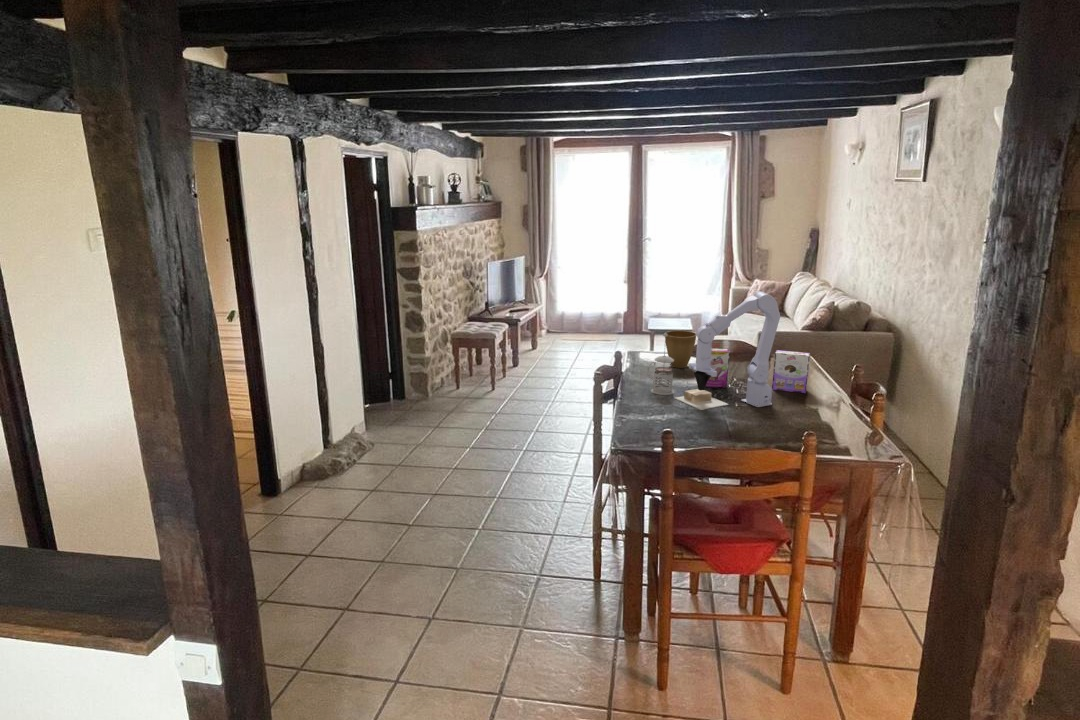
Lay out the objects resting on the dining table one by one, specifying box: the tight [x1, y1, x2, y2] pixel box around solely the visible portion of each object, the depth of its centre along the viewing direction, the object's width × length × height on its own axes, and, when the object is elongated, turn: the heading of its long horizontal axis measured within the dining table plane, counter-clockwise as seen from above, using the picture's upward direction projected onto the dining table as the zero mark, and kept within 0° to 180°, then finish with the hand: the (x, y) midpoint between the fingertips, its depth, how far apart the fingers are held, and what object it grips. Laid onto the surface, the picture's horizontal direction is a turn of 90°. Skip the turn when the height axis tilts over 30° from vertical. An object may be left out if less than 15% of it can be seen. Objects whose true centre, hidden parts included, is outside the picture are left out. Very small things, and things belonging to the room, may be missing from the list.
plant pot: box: [664, 330, 697, 369], centre depth 321 cm, size 15×15×16 cm
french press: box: [646, 332, 675, 396], centre depth 280 cm, size 10×12×25 cm
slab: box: [683, 388, 712, 403], centre depth 271 cm, size 3×8×7 cm
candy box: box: [771, 349, 811, 394], centre depth 284 cm, size 14×6×16 cm, turn 65°
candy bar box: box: [705, 348, 731, 388], centre depth 288 cm, size 11×5×16 cm, turn 84°
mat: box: [674, 395, 729, 411], centre depth 269 cm, size 16×14×1 cm
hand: (701, 389), depth 268 cm, fingers closed
